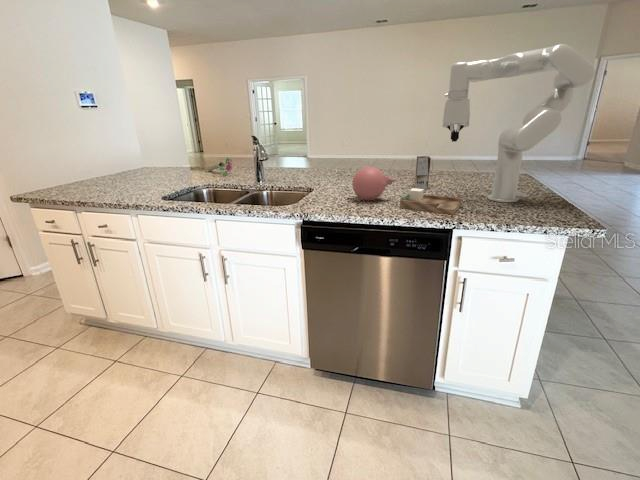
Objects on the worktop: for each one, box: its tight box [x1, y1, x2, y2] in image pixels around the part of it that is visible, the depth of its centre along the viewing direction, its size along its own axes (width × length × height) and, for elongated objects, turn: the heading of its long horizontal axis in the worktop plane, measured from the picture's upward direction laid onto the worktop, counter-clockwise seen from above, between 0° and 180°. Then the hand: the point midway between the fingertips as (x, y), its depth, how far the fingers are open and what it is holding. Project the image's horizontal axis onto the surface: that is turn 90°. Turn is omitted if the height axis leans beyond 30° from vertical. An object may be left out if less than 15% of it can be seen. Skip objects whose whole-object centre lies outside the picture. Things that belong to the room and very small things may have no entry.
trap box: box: [399, 192, 463, 216], centre depth 144 cm, size 22×15×4 cm
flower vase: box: [205, 157, 233, 176], centre depth 236 cm, size 12×12×35 cm
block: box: [408, 187, 425, 200], centre depth 150 cm, size 5×5×4 cm
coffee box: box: [414, 155, 432, 190], centre depth 179 cm, size 9×6×16 cm
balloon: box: [351, 166, 397, 201], centre depth 156 cm, size 15×20×15 cm
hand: (454, 141), depth 147 cm, fingers closed
